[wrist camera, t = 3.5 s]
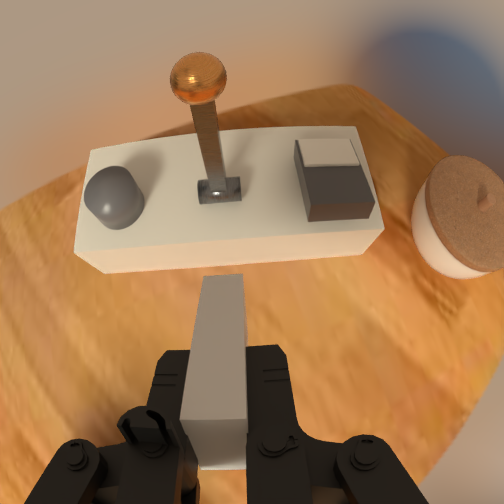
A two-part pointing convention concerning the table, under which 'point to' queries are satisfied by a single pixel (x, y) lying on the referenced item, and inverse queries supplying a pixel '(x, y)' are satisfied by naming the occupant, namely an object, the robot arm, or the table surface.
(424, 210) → the lidded jar
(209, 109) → the lever
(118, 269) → the console
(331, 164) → the block
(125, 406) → the table surface
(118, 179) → the button
